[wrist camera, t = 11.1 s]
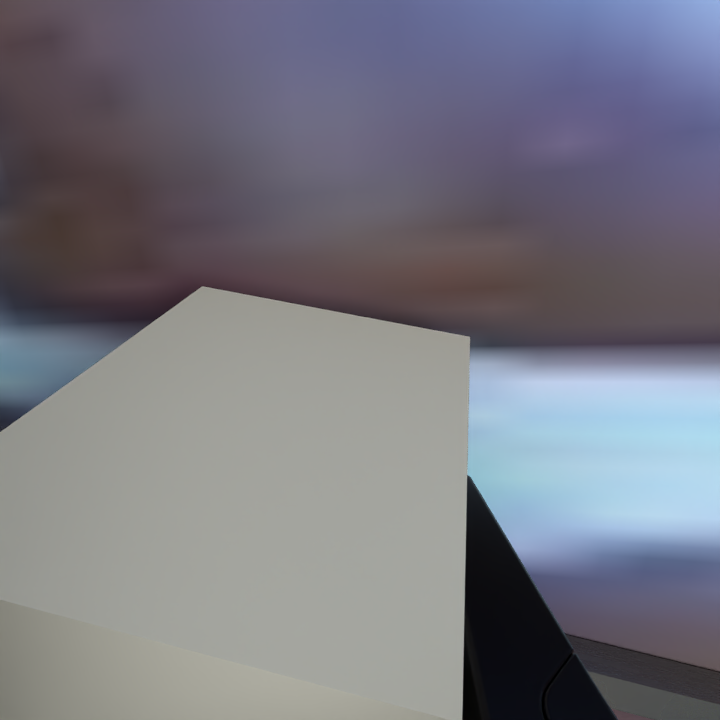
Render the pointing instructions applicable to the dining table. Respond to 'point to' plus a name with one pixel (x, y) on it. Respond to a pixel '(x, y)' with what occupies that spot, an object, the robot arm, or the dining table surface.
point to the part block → (241, 523)
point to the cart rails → (650, 683)
